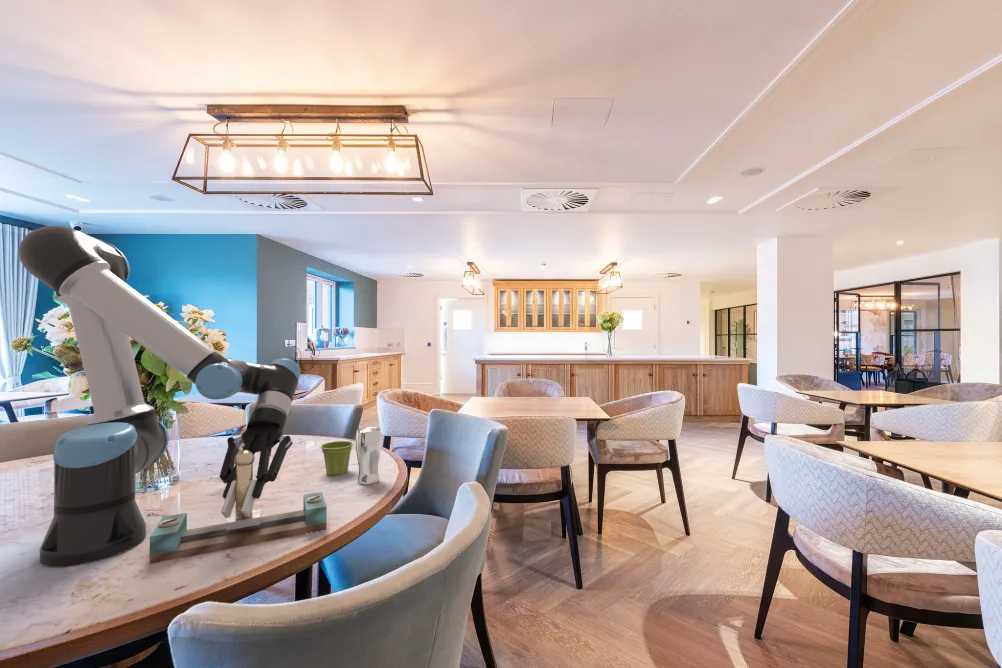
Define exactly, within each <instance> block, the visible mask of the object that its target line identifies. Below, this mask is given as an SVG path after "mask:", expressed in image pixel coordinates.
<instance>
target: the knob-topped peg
mask: <svg viewBox="0 0 1002 668" xmlns="http://www.w3.org/2000/svg"><path fill="white" fill-rule="evenodd" d="M254 462H255V455H254V454H253V453H252V452H251V451H248V450H243V451H240V452H239V453H237V455H236V456H235V458H234V463H235V464H234V466H235V465H236V501H235V512H234V513H232V512H231V515H230V518H226V522H225V523H226V531H227V530H233V529H238V528H244V527H250V526H255V525H260V523H261V517H262V508H258V509H252V510H251V513H250V517H245V516H244V514H243V513H242V512H241V510H242V507H243V504H244V501H245V498H246V495H247V492H248V489H249V486H250V483H251V480H254V479H253V478H254V477H253V476H254V475H253V474H254Z"/></svg>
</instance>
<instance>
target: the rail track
mask: <svg viewBox="0 0 1002 668" xmlns="http://www.w3.org/2000/svg"><path fill="white" fill-rule="evenodd" d="M327 507H328V506H327V503H326V500H325V496H324V494H323V491H318V492H314V493H313V492H311V493H306V494H303V509H302V510H296V511H289V512H283V513H278V514H273V515H267V516H261V523H260V525H255V526H250V527H244V528H238V529H233V530H227V531H226V522H224V523H219V524H214V525H213V524H212V525H207V526H202V527H195V528H190V529H188V527H187V525H188V516H187V515H188V513H187V512H185V513H184V512H183V513H179V514H177V513H176V514H170V515H165V516H162V517H161V519H160V520H159V522H158V523H157V525H156V526H155V528H154V529H153V531H152V533H150V536H149V559H148V560H149V565H154V564H157V563H158V564H159V563H163V562H169V561H173V560H179V559H184V558H189V557H195V556H199V555H204V554H209V553H215V552H219V551H220V552H221V551H224V550H230V549H234V548H235V549H236V548H241V547H246V546H251V545H256V544H261V543H266V542H267V543H268V542H271V541H276V540H281V539H287V538H292V537H297V536H301V535H302V534H303V535H307V534H306V533H308V534H312V533H311V532H313V533H317V532H316V531H318V532H323V531H326V530H327V529H328V528H327V525H328V524H327V522H328V521H327ZM322 530H323V531H322Z"/></svg>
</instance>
